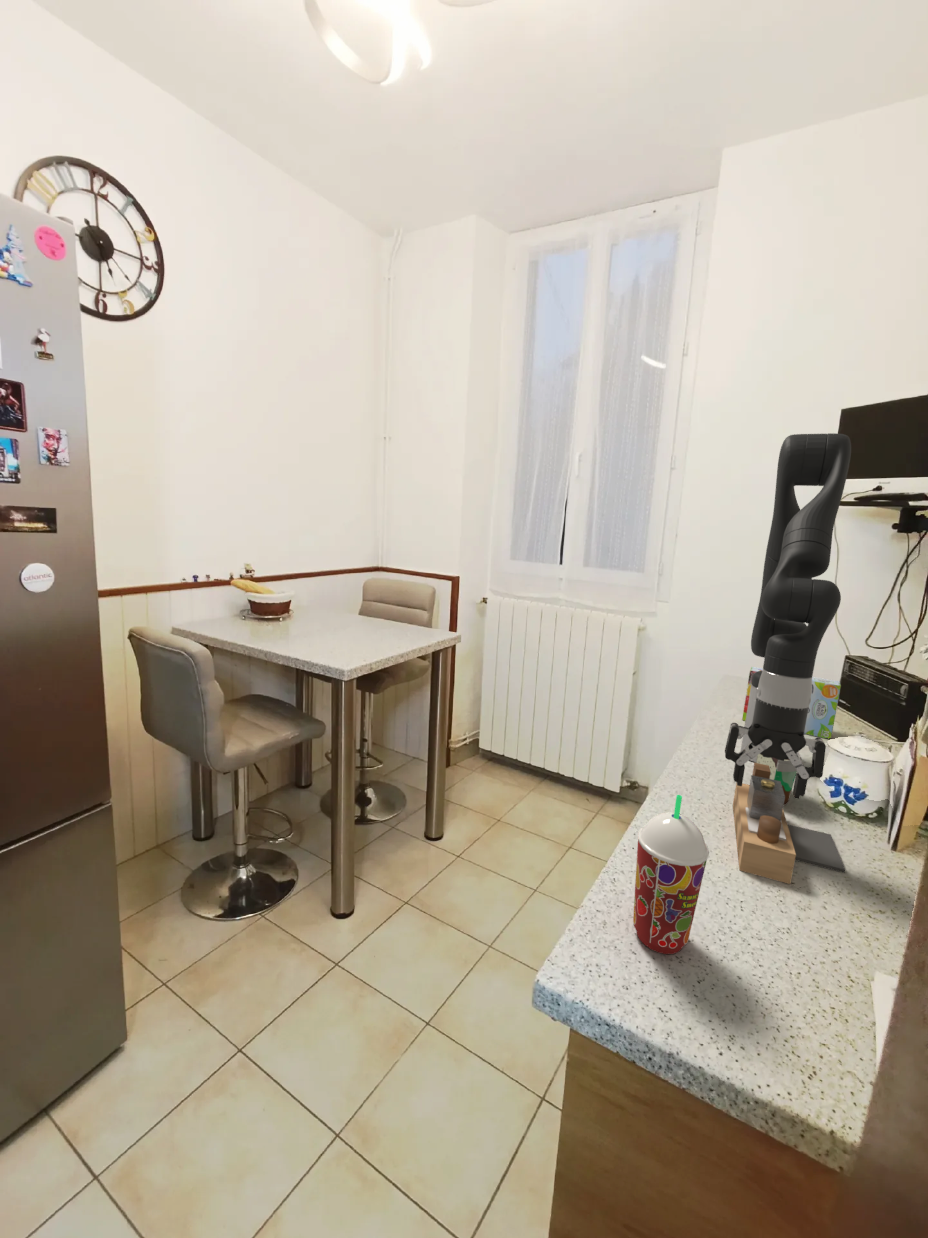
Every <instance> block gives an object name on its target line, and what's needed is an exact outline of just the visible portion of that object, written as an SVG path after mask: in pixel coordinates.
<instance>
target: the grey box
mask: <svg viewBox="0 0 928 1238" xmlns="http://www.w3.org/2000/svg"><path fill="white" fill-rule="evenodd" d="M749 785H750V786H749V792H748V798H747V804H748V811H749V817H750V818H755V819H759V820H760V817H761V816H764V815H765V816H771V817H774V818H776V819H778V820H779V821H780V822H781V817H782V811H784V806H785V805H784V800H785V795H784V791H783V788H782V785H781V782H780V781H777V780H772V779H767V778H763V777H758V776H753V775H752V774H751V775H750V780H749Z"/></svg>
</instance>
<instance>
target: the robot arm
mask: <svg viewBox="0 0 928 1238" xmlns="http://www.w3.org/2000/svg"><path fill="white" fill-rule="evenodd" d="M851 455H852V443H851V438H850V437H849V436H848V435H846V434H843V433H834V432H833V433H799V434H798V433H797V434H790V435H788V436H787V437H785V438H784V440H783V442H782V444H781V447H780V451H779V456H778V460H777V461H778V462H777V468H776V469H777V471H776V482H775V490H774V491H775V494H774V503H773V513H772V520H771V525H770V529H769V536H768V541H767V546H766V551H765V558H764V564H763V572H762V579H761V580H762V581H761V588H760V589H761V590H760V596H759V602H758V606H757V612H756V614H755V619H754V623H753V628H752V633H751V640H750V649H751V652H752V654H753V655H755V656H757V657H760V658H763V659H764V660H763V665H762V669H763V670H762V671H758V672H755V673H754V674H753V677H752V682H751V689H750V696H749V702H748V708H747V714H746V720H745V721H744V726H742V725H739V724H738V723H736V722H732V723H730V726H729V730H728V735H727V739H726V743H725V746H724V747H725V748H724V756H725V759H726V760H728V761H732V762H733V763H734V768H733V774H732V778H733V781H734V782H735V783H736V782H737V786H742V783H743V782H744V775H745V768H746V766H745V764H746V763H747V762H749V761H751V762H753V763H756V758H757V755H758V754H761V755H762V756H763V757H767V758H776V759H778V760H782V761H784V760H786V759H790V761H791V762H792V764H793V766H794V767H795V768H796V770H797V773H796V776H795V780H794V783H793V787H792V796H793V798H794V799H797V800H798V799H799V800H800V798H801V797H804V795H806V790H807V785H808V780H809V779H810V778H817V779H820V778H822V777H823V776H824V775H823V774H824V764H825V756H826V744H825V742H824V740H823V739H822V737H816V738H806V737H805V734H804V731H805V725H806V719H807V714H808V709H809V704H810V702H811V692H812V677H814V676H813V674H814V670H815V663H816V658H817V654H818V650H819V647H820V644H821V643H822V639H823V638H824V635H825V633H826V631H827V630H828V627H829V626H830V624H831V622H832V621H833V619H834V617H835V615H836V614H837V612H838V610H839V608H840V605H841V599H842V596H841V595H842V594H841V591H840V589H839V588H838V586H837V585H836V583H834V582H833V581H830V580H826V579H819V578H818V579H817V577H819V576H821V575H823V574H824V573H825V572H827V571H828V568H829V566H830V562H831V561H830V560H831V554H832V542H833V532H834V527H835V526H834V525H835V522H836V519H837V516H838V515H837V514H838V512H839V508H840V504H841V502H842V499H843V493H844V490H845V485H846V483H847V482H846V481H847V477H848V473H849V468H850V463H851ZM796 486H801V487H802V486H806V487H809V486H810V487H812V486H813V487H821V490H820V491H819V492H818V493H817V494H816V496H815V497H813V498H812V499H811V500H810V501H809V502H808V503H807V504H805V505H804V506H803V507H802V508H800V506H799V504H798V501H797V497H796V493H795V487H796ZM815 578H816V579H815ZM738 740H741V744H740V745H741V746H740V751H739V752H736V746H737V742H738ZM805 746H807V747H808V750H809V752H810V753H811V754H812V757H811V766H805V764H804V763H803V760H802V761H801V760H800V758H799V756H798V755H797V752H800V751H801V750H803V748H805Z"/></svg>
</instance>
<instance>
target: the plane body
mask: <svg viewBox="0 0 928 1238" xmlns="http://www.w3.org/2000/svg"><path fill="white" fill-rule="evenodd" d="M753 763H754V764H753V767H752V768H753V770H752V774H751V775H753V776H758V777H763V778H767V779H770V773H771V771H770V768H769V765H764V764H759V763H756V762H753ZM749 786H750V784H747V783H743V782H742V786H737V782H735V788H734V794H733V800H732V801H733V802H732V813H733V821H734V831H735V832H734V834H735V840H736V841H735V842H736V851H737V859H738V862H737V863H738V869H739V871H741V872H745V873H746V874H751V875H756V876H759V877H762V878H766V879H770V880H774V881H777V882H780V883H785V884H788V885H791V882H792V878H793V872H794V866H795V861H796V860H795V857H796V853H795V850H794V846H793V843H792V839H791V836H790V832H789V829H788V825H787V824H788V822H787V818H786V816H785V811H784V810H783V811H782V817H781V822H780V821H779V820H778V819H776V818H774V817H771V816H765V815H764V816H761V817H760V820H759V819H755V818H750V817H749V811H748V804H747V798H748V792H749Z"/></svg>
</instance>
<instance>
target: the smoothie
mask: <svg viewBox="0 0 928 1238" xmlns="http://www.w3.org/2000/svg"><path fill="white" fill-rule="evenodd" d="M682 799H683V795H680V794H676V797H675V804H674V811H666V812H660V813H658V814H655V815H654V816H652V817H650V818H649V819H648V820H647V821H646V823H645V824H644V826H642V827H640V828H639V830H638V832H637V850H636V864H635V865H636V868H635V885H634V886H635V887H634V902H633V918H632V920H633V921H632V922H633V926H634V929H635V931H636V936H637V937H638V939H639V941H640V942H641V943H642V944H643V945H645V947H647V948H649V949H650V950H652V951H654V952H657V953H659V954H664V955H673V954H676V953H677V954H678V953H679V952H680V951H681V950H682V949H683V948H684V946H686V945H687V943H688V942H689V938H690V933H691V930H692V925H693V921H694V917H695V913H696V909H697V904H698V899H699V896H700V891H701V887H702V883H703V879H704V874H705V870H706V866H707V861H708V857H709V855H710V850H709V847H708V845H707V844H706V842H705V838H704V835H703V833H702V831H701V829H700V828H699V827H698V825H696V824H695V822H694V821H693V820H691V819H690V817H687V816H686V815H683V814H680V813H681V809H682V808H681V806H682Z"/></svg>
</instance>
